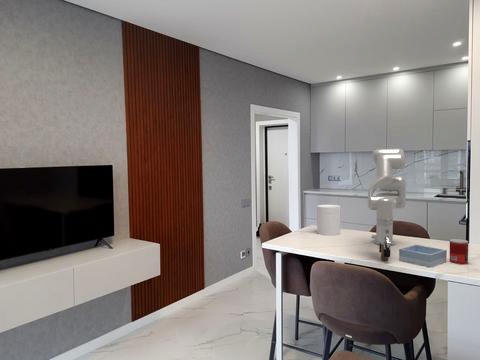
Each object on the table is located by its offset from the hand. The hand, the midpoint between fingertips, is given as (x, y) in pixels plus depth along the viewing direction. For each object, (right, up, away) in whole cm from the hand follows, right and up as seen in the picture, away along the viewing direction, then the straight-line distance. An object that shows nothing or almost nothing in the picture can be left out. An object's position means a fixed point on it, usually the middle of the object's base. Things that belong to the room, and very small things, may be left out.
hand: (384, 254), depth 186 cm
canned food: (+35, -3, -6) cm, 36 cm away
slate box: (+18, -3, -3) cm, 19 cm away
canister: (-11, 0, +72) cm, 73 cm away
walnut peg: (0, -3, 0) cm, 3 cm away
